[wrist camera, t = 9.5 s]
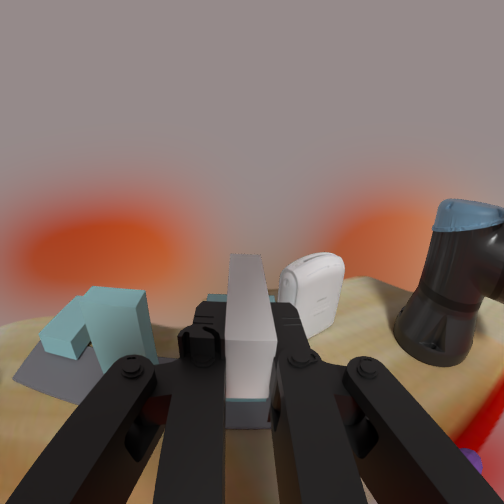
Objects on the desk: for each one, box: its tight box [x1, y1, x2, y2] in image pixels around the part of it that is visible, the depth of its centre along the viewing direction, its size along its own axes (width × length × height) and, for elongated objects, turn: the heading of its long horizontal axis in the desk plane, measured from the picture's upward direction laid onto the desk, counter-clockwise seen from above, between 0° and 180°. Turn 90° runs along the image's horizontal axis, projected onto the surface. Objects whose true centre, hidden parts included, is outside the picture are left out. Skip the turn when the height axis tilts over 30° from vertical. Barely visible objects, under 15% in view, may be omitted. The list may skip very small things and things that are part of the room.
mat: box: [12, 340, 271, 429], centre depth 27 cm, size 36×10×1 cm, turn 92°
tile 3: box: [39, 296, 91, 360], centre depth 33 cm, size 6×3×12 cm
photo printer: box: [277, 252, 345, 339], centre depth 37 cm, size 10×4×12 cm, turn 124°
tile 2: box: [79, 286, 159, 374], centre depth 25 cm, size 6×3×12 cm, turn 92°
